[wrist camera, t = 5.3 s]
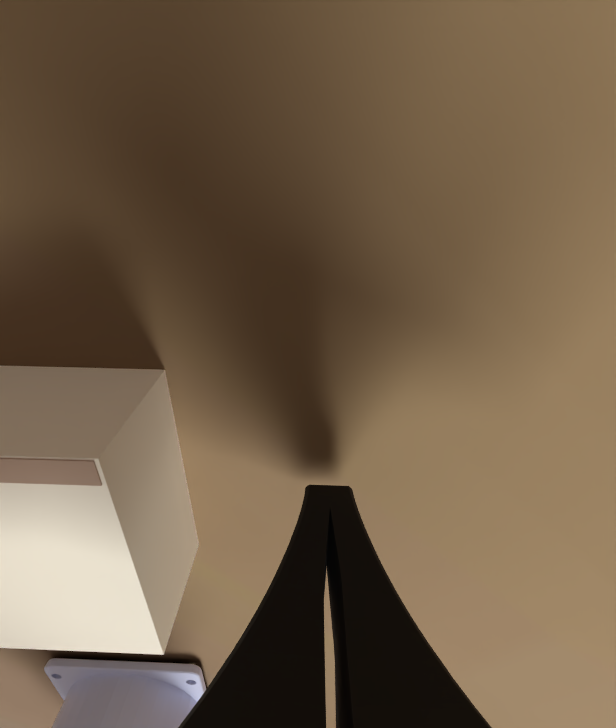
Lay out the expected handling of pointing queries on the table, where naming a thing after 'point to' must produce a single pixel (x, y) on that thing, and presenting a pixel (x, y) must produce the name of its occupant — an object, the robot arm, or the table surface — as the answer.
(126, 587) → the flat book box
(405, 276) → the table surface
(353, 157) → the table surface
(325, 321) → the table surface
